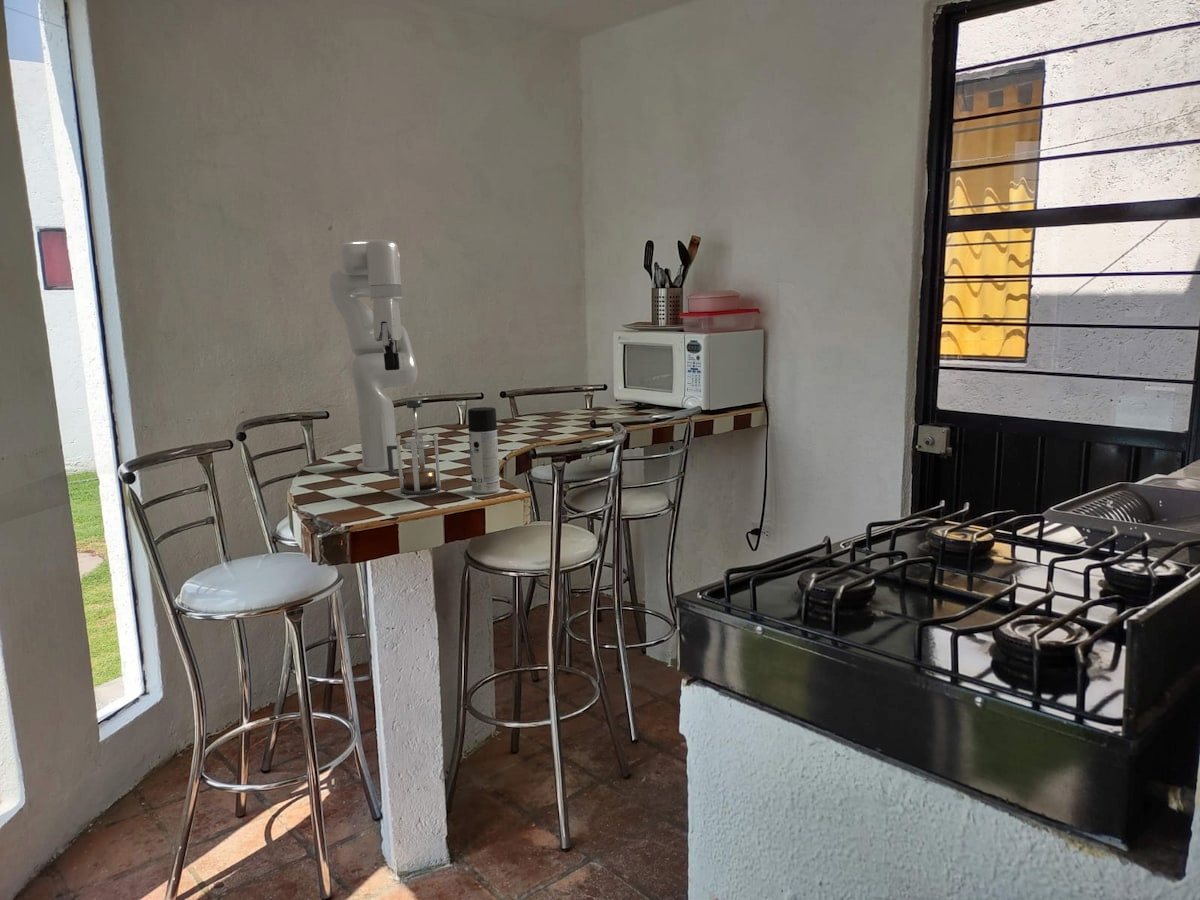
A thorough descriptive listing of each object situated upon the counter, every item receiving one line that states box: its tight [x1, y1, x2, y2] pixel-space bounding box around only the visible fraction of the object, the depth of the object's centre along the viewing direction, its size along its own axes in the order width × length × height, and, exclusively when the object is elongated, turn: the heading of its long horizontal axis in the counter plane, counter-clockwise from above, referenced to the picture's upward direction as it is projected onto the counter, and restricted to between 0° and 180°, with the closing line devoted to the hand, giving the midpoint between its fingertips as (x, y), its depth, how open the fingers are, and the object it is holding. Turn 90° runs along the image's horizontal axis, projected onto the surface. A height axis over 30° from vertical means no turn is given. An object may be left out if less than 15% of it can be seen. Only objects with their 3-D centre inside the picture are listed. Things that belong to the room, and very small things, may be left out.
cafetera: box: [387, 431, 442, 496], centre depth 210 cm, size 10×12×14 cm
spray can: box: [467, 406, 501, 495], centre depth 207 cm, size 7×7×20 cm
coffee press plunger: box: [401, 398, 434, 450], centre depth 208 cm, size 7×7×11 cm
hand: (392, 369), depth 211 cm, fingers closed
